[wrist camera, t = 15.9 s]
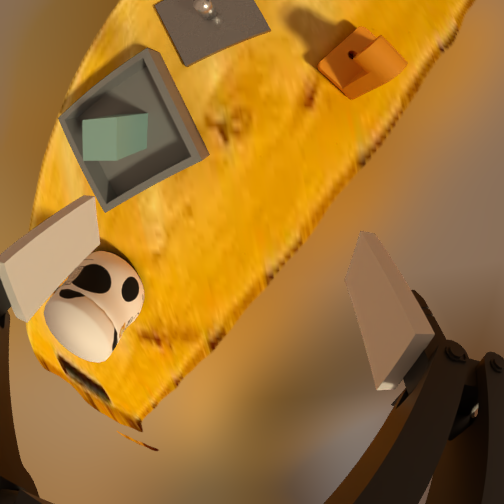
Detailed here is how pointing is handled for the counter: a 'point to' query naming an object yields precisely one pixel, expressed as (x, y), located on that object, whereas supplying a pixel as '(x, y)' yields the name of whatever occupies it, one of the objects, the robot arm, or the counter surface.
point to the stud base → (210, 25)
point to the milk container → (95, 306)
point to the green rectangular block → (114, 136)
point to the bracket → (362, 63)
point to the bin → (158, 130)
